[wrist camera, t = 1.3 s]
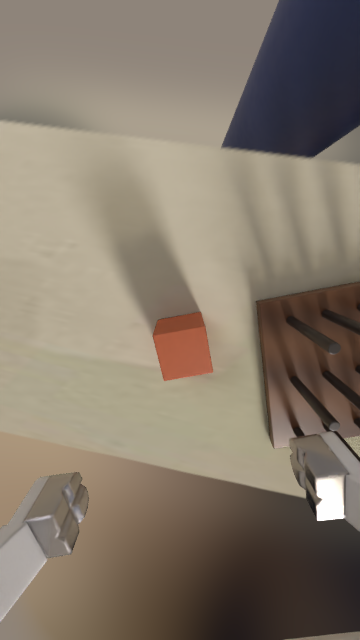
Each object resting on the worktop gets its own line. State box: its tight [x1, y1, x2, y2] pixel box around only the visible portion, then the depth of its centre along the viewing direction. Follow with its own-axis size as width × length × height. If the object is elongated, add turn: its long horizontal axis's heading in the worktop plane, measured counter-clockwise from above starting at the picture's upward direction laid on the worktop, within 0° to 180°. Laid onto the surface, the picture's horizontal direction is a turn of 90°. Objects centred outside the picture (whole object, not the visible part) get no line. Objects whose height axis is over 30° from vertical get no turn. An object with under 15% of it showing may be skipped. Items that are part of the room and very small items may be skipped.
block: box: [153, 312, 213, 381], centre depth 20 cm, size 4×4×4 cm
